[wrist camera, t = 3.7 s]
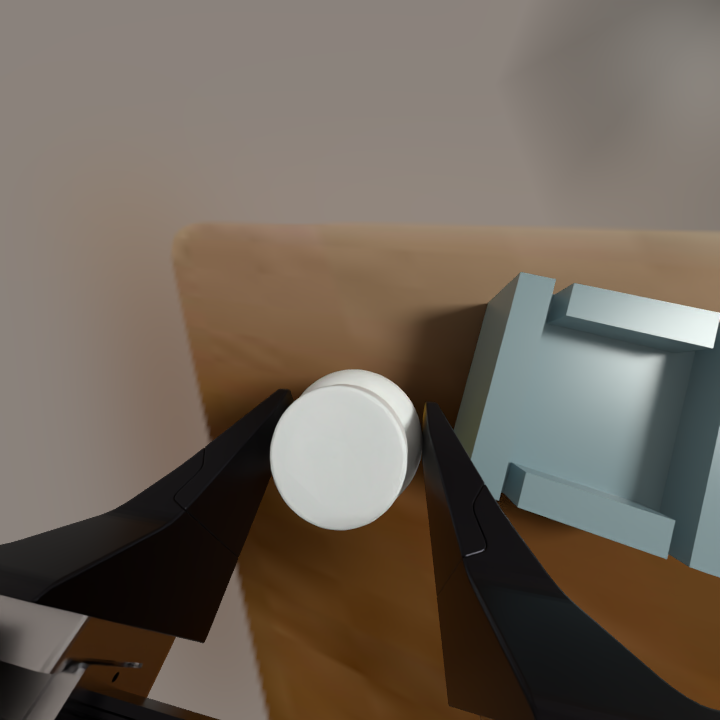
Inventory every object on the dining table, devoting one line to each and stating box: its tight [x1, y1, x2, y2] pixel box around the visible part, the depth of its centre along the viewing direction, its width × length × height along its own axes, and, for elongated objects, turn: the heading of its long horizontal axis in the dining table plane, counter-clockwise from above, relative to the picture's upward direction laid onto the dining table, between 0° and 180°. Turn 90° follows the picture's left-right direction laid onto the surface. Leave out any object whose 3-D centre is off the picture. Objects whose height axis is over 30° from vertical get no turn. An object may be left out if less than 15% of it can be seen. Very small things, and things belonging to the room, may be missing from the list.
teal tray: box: [454, 272, 720, 577], centre depth 13 cm, size 10×10×4 cm
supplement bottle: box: [270, 369, 423, 530], centre depth 12 cm, size 5×5×10 cm
